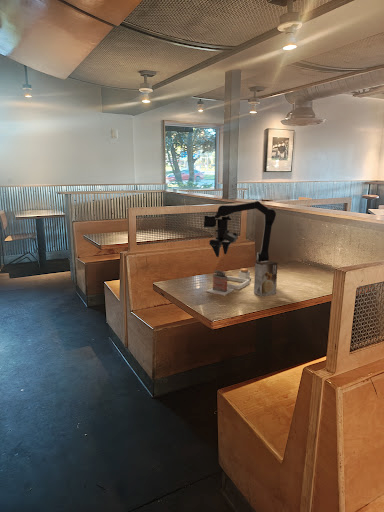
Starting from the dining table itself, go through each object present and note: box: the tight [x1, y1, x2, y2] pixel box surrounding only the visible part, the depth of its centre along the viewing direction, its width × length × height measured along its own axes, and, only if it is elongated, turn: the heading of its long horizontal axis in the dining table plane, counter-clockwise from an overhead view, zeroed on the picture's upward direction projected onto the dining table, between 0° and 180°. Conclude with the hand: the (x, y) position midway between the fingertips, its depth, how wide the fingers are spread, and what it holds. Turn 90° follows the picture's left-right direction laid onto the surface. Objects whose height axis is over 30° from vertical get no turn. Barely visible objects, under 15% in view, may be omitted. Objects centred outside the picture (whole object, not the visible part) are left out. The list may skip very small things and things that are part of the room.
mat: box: [206, 287, 235, 296], centre depth 182 cm, size 10×10×1 cm
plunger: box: [239, 267, 249, 273], centre depth 202 cm, size 4×4×4 cm
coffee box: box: [253, 259, 278, 297], centre depth 177 cm, size 9×6×16 cm
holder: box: [226, 270, 252, 291], centre depth 197 cm, size 14×22×4 cm, turn 147°
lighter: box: [212, 269, 228, 292], centre depth 181 cm, size 8×3×10 cm, turn 53°
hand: (221, 255), depth 202 cm, fingers open, 9 cm apart
